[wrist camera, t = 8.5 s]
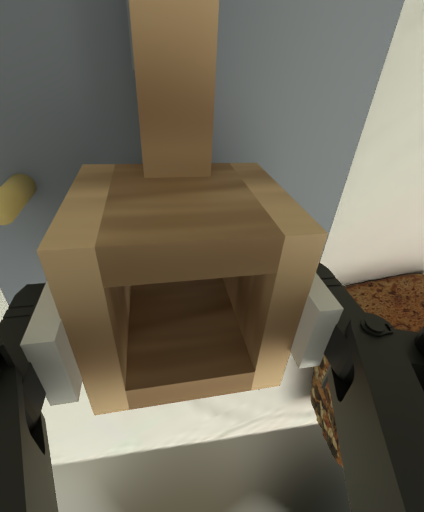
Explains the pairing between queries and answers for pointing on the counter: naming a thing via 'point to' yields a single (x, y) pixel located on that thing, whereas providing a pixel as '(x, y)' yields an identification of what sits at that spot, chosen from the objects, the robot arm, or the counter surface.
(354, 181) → the counter surface
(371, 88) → the post base
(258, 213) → the wooden frame with handle
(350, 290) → the bread
